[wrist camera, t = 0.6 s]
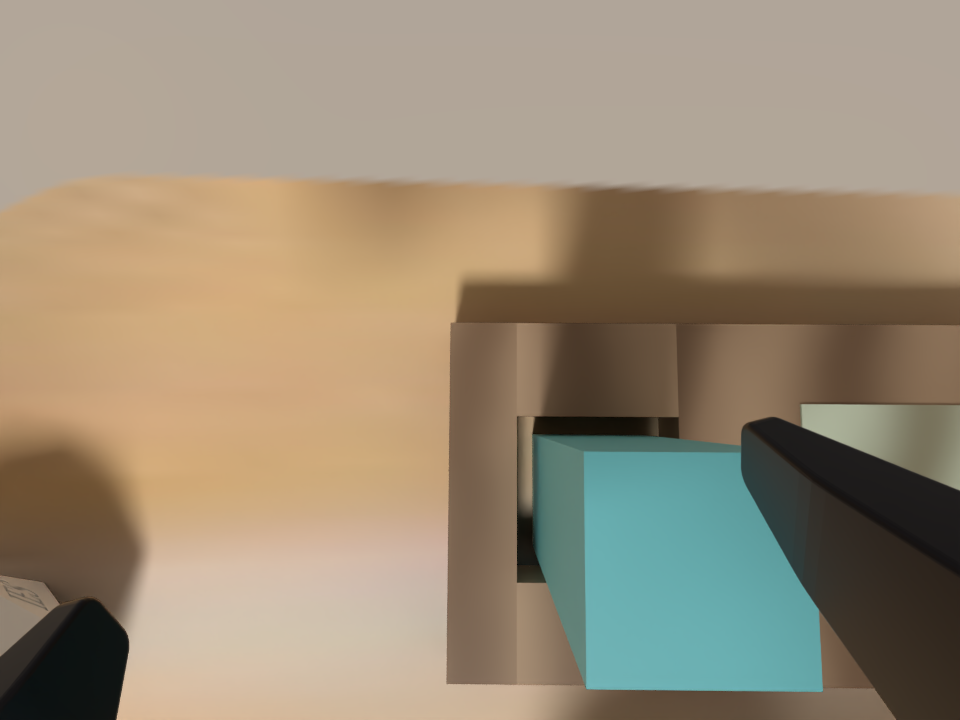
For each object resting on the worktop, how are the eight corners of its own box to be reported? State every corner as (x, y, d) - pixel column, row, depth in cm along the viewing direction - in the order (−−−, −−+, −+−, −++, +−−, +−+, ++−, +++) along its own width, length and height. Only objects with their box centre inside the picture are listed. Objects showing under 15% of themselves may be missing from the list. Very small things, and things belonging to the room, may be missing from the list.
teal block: (641, 435, 24) (811, 453, 11) (643, 546, 23) (823, 692, 11) (532, 434, 24) (583, 451, 12) (532, 545, 24) (586, 689, 11)
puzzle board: (980, 335, 24) (1039, 325, 22) (1006, 660, 23) (1073, 691, 20) (454, 332, 24) (450, 322, 22) (450, 655, 23) (446, 685, 20)
